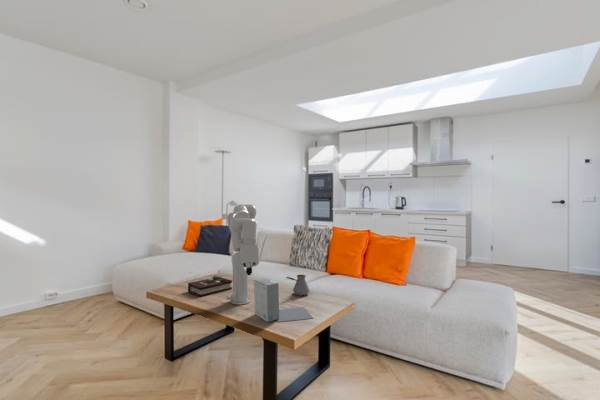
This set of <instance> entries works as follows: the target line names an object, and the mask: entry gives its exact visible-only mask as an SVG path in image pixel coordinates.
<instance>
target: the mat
mask: <svg viewBox="0 0 600 400" xmlns="http://www.w3.org/2000/svg"><path fill="white" fill-rule="evenodd" d="M311 319H313V320H314V317H313V316H312V315H311V313H310V312H309V311H308V310H307V309H306V307H305V306H301V307H300V306H299V307H291V308H290V307H289V308H279V319H277V320H276V322H277V323H285V322H291V321H294V322H295V321H303V320H311Z"/></svg>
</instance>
